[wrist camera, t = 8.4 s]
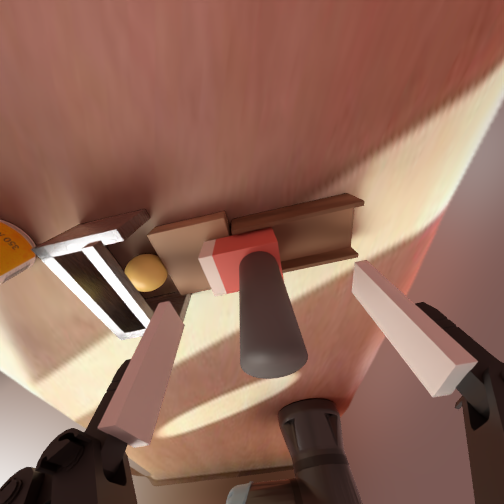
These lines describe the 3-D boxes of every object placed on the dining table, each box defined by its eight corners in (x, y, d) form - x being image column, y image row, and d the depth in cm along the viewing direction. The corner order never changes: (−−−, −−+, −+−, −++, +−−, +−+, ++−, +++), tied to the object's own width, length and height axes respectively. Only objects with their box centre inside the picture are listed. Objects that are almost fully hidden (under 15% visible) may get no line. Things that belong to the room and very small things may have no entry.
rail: (343, 243, 22) (358, 257, 19) (245, 264, 22) (246, 280, 20) (346, 193, 18) (364, 200, 16) (232, 219, 19) (231, 230, 16)
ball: (130, 294, 20) (160, 272, 23) (150, 304, 18) (181, 278, 21) (108, 266, 18) (144, 245, 21) (127, 273, 16) (165, 248, 19)
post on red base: (277, 263, 20) (315, 375, 10) (217, 276, 20) (199, 396, 10) (271, 226, 17) (312, 326, 8) (203, 241, 18) (165, 354, 8)
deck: (243, 271, 23) (243, 282, 21) (185, 284, 23) (181, 295, 21) (224, 211, 19) (223, 217, 17) (155, 227, 19) (146, 235, 17)
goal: (191, 295, 24) (174, 351, 18) (141, 305, 24) (106, 364, 18) (145, 208, 18) (92, 246, 11) (79, 224, 18) (-9, 269, 12)
